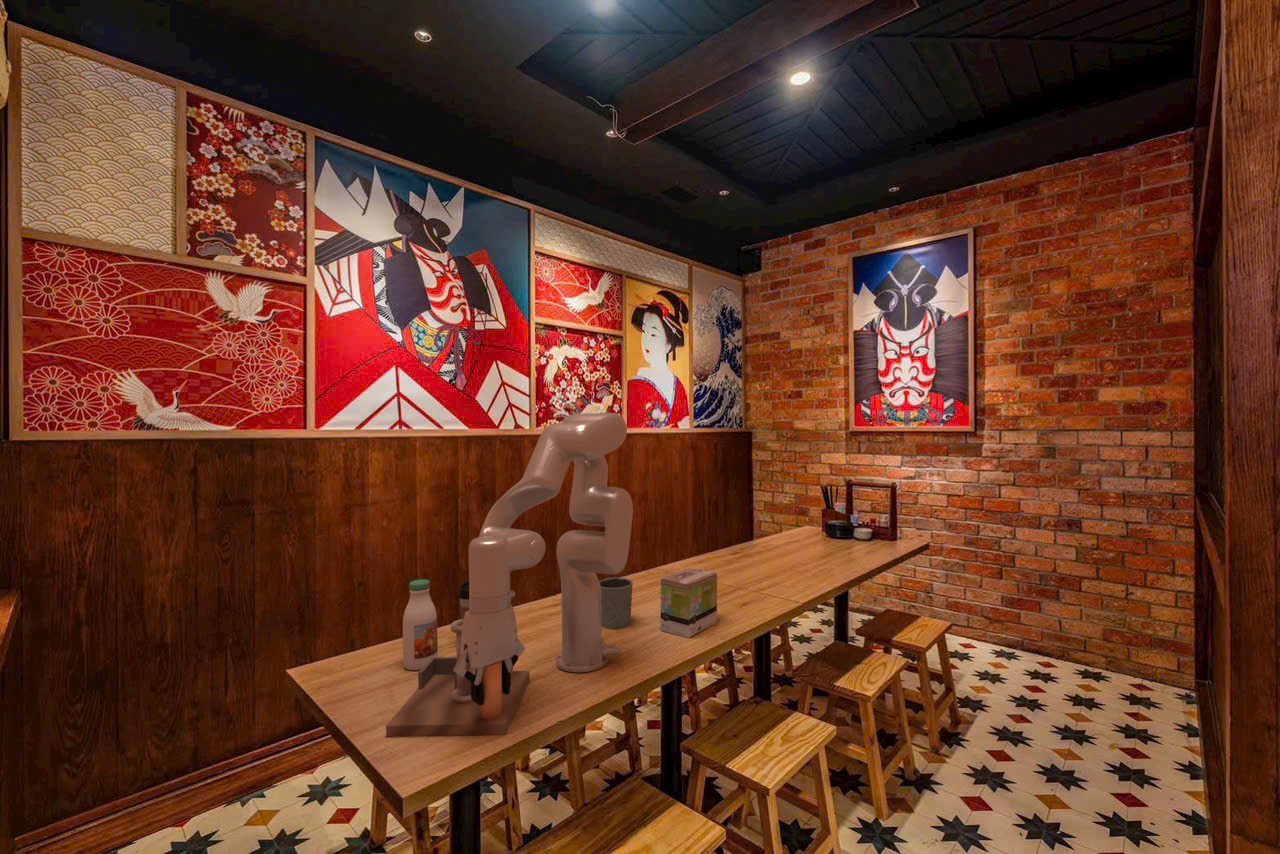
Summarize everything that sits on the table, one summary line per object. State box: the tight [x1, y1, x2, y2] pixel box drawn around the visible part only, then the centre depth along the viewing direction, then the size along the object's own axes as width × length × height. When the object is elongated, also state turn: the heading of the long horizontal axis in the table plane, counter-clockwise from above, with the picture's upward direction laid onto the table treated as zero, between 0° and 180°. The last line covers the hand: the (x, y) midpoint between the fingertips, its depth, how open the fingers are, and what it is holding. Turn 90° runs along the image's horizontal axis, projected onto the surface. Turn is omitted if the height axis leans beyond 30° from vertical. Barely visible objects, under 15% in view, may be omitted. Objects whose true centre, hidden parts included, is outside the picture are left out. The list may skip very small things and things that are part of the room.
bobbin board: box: [385, 618, 530, 738], centre depth 112 cm, size 22×22×17 cm
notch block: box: [417, 656, 457, 689], centre depth 119 cm, size 8×8×4 cm
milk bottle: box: [402, 579, 439, 671], centre depth 132 cm, size 8×8×20 cm
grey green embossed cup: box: [599, 577, 634, 630], centre depth 157 cm, size 10×10×12 cm
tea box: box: [659, 567, 718, 639], centre depth 154 cm, size 15×10×15 cm, turn 143°
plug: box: [481, 661, 502, 720], centre depth 104 cm, size 4×4×10 cm
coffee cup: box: [457, 581, 470, 619], centre depth 146 cm, size 8×8×15 cm
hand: (491, 696), depth 104 cm, fingers open, 4 cm apart
